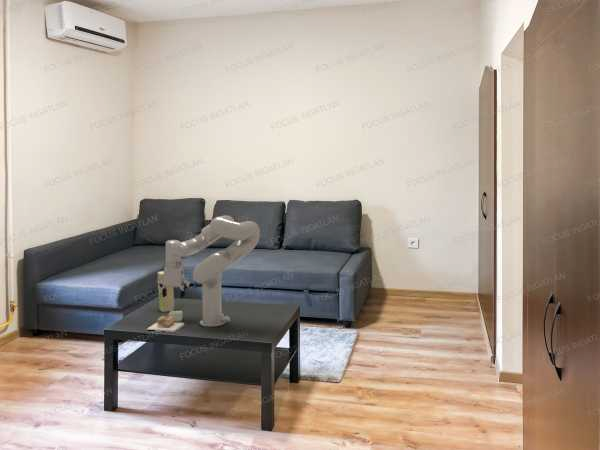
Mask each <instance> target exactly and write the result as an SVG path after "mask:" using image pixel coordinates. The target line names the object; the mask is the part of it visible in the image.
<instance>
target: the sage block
mask: <svg viewBox="0 0 600 450" xmlns="http://www.w3.org/2000/svg"><path fill="white" fill-rule="evenodd" d="M167 316H174V321H175V322H182V319H183V310H174V311H169V313H168V315H167Z"/></svg>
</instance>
